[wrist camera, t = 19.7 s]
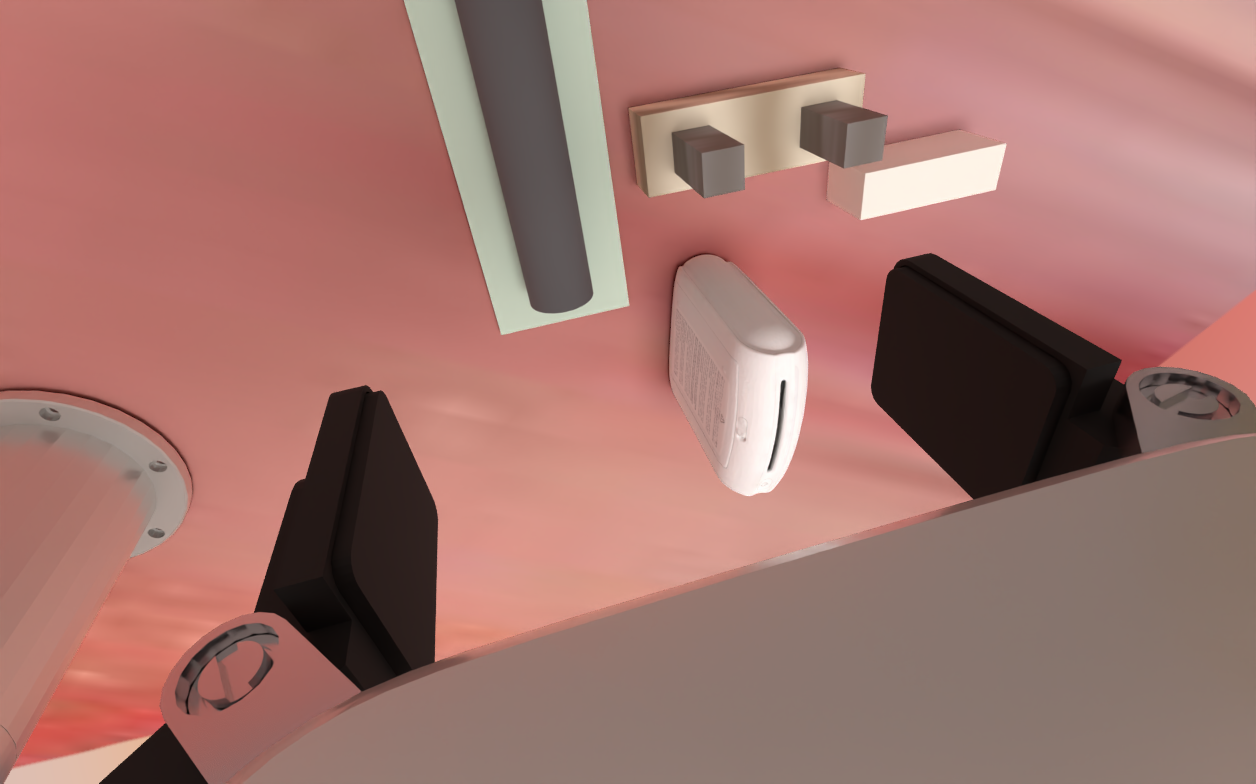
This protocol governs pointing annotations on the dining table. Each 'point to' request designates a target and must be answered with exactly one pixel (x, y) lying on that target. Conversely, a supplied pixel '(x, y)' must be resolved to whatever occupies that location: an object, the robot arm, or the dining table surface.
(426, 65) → the mat
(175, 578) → the dining table surface
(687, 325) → the photo printer
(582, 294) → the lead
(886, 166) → the beige rectangular block
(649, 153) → the clamp board
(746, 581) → the robot arm
